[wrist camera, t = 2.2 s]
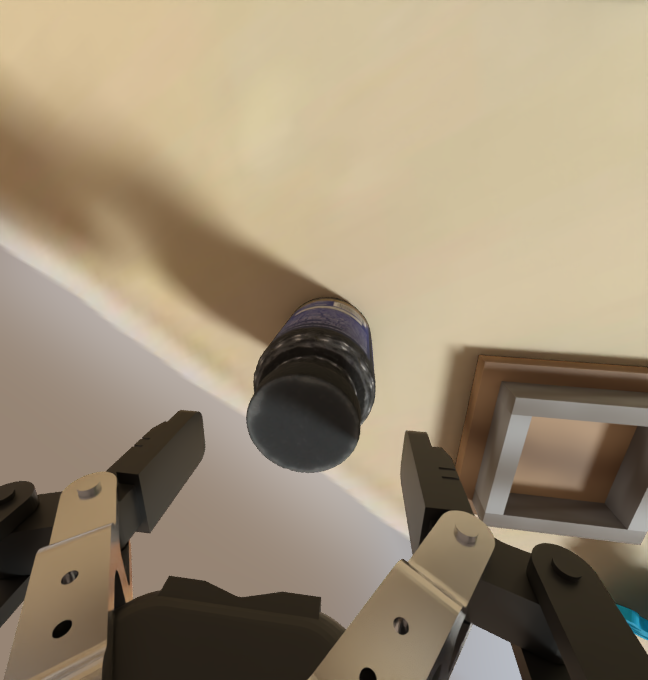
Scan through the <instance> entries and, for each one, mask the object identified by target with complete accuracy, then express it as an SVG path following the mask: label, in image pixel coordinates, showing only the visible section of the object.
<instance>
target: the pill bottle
mask: <svg viewBox="0 0 648 680" xmlns="http://www.w3.org/2000/svg"><path fill="white" fill-rule="evenodd" d="M253 383H254V395H253V397H252V398H251V400H250V403H249V406H248V409H247V417H246V420H247V428H248V432H249V435H250V437H251V439H252V441H253V443H254V444H255V445H256V447H257V449H258V450H259V451H260V452H261V453H262V454H263V455H264V456H265V457H266V458H267V459H269V460H270V461H272V462H273V463H275V464H277V465H278V466H281V467H283V468H287V469H290V470H292V471H296V472H306V473H314V472H321V471H325V470H328V469H331V468H333V467H335V466H337V465H339V464H341V463H342V462H343V461H345V460H346V459H347V458H348V457H349V456H350V454H351V453H352V452H353V451H354V449H355V447H356V445H357V442H358V440H359V436H360V426H361V424H363V422H364V421H365V420H366V418H367V417H368V415H369V413H370V411H371V408H372V406H373V403H374V398H375V387H376V386H375V374H374V363H373V350H372V340H371V332H370V328H369V325H368V323H367V321H366V319H365V317H364V316H363V315H362V313H361V312H360V311H358V309H357V308H356V307H354V306H353V305H351V304H349V303H347V302H345V301H343V300H341V299H338V298H318V299H314V300H311V301H309V302H307V303H305V304H303V305H302V306H301V307H299V308H298V309H297V310H296V311H295V312H294V314H293V315H292V316H291V318H290V319H289V320H288V321H287V323H286V324H285V325H284V327H283V328H282V329H281V331H280V332H279V333H278V334H277V336H276V337H275V338H274V340H273V341H272V342H271V344H270V345H269V346H268V347H267V349H266V350H265V351H264V352H263V354H262V356H261V357H260V359H259V361H258V364H257V367H256V371H255V373H254V381H253Z"/></svg>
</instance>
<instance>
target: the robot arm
mask: <svg viewBox="0 0 648 680" xmlns="http://www.w3.org/2000/svg"><path fill="white" fill-rule="evenodd" d="M204 452H205V439H204V429H203V419H202V415H201V413H200V412H197V411H186V410H180V411H178V412H177V413H176V414H175V415H174V416H173V417H172V418H171V419H170V420H169V421H168V422H163V423H161V424H159V425H158V426H156V427H154V428H152V429H151V430H150V431H149V432H148V433H147V434H146V435H144V436H143V437H142V439H140V440H139V441H138V442H137V443H136V444H135V446H134V447H131V449H129V450H128V451H127V452H126V453H125V454H124V455H123V456H122V457H121V458H120V459H119V460H118V461H116V462H115V463H114V464H113V465H112V466H111V467H110V468H109V469H108V470H107V471H106V472H96V473H92V474H88V475H86V476H83V477H81V478H79V479H77V480H76V481H74V482H72V483H71V484H70V485H69V486H67V487H66V488H65V490H64V491H62V492H55V493H47V494H40V495H37V493H36V490H35V487H34V485H33V484H32V483H30V482H27V481H19V482H13V483H9V484H5V485H3V486H0V627H1V626H2V625H3V624H4V623H5V622H6V620H7V619H8V618H9V617H10V616H11V614H12V613H13V612H14V611H15V610H16V609H17V607H18V606H19V605H20V604H21V603H22V602H23V601H24V603H23V607H22V611H21V614H20V618H19V622H18V626H17V630H16V633H15V638H14V641H13V645H12V649H11V653H10V657H9V661H8V664H7V668H6V672H5V676H4V680H449V677H450V675H451V673H452V671H453V668H454V666H455V664H456V662H457V659H458V657H459V655H460V652H461V650H462V648H463V646H464V643H465V641H466V639H467V636H468V634H469V632H470V630H471V627H472V625H473V624H474V625H476V626H478V627H480V628H482V629H484V630H486V631H488V632H490V633H493V634H494V635H496V636H499V637H500V638H502V639H505V640H506V641H509V642H510V643H511V646H512V649H513V652H514V655H515V658H516V661H517V665H518V668H519V671H520V674H521V677H522V680H648V654H647V653H646V651H645V650H644V648H643V647H642V645H641V643H640V642H639V640H638V639H637V637H636V636H635V634H634V632H633V631H632V629H631V628H630V626H629V624H628V623H627V621H626V620H625V618H624V617H623V615H622V613H621V612H620V610H619V609H618V607H617V606H616V604H615V602H614V601H613V599H612V598H611V596H610V594H609V593H608V591H607V590H606V588H605V587H604V585H603V583H602V582H601V580H600V579H599V577H598V576H597V574H596V573H595V571H594V570H593V569H592V568H591V567H590V566H589V565H588V564H587V563H586V562H585V561H584V560H583V559H582V558H580V557H579V556H578V555H576V554H575V553H573V552H571V551H569V550H568V549H565V548H563V547H561V546H558V545H554V544H549V543H542V544H538V545H536V546H535V547H534V548H533V550H532V553H528V552H526V551H523V550H520V549H518V548H515V547H513V546H510V545H507V544H505V543H503V542H501V541H499V540H497V539H496V538H494V536H493V534H492V532H491V530H490V529H489V528H488V526H487V525H486V524H485V523H484V522H482V521H481V520H480V519H479V518H477V517H475V515H474V513H473V511H472V508H471V506H470V503H469V501H468V498H467V496H466V493H465V491H464V488H463V486H462V483H461V481H460V480H459V476H458V473H457V471H456V468H455V466H454V463H453V461H452V458H451V457H450V456H449V455H448V454H447V453H446V452H445V451H444V450H443V449H442V448H439V447H432V446H431V443H430V440H429V437H428V434H427V433H426V432H417V431H406V432H405V437H404V444H403V452H402V460H401V471H400V475H401V486H402V492H403V498H404V504H405V510H406V517H407V523H408V529H409V535H410V541H411V548H412V554H413V556H412V557H411V559H410V560H409V561H408V562H407V561H405V560H404V559H401V560H400V561H398V563H397V564H396V565H395V566H394V567H393V569H392V570H391V571H390V572H389V574H388V575H387V576H386V578H385V579H384V580H383V582H382V583H381V584H380V586H379V587H378V588H377V590H376V591H375V592H374V594H373V595H372V596H371V598H370V599H369V600H368V601H367V603H366V604H365V605H364V607H363V608H362V609H361V611H360V612H359V613H358V615H357V616H356V617H355V619H354V620H353V621H352V623H351V624H350V625H349V627H348V628H347V629H345V628H344V627H342V626H341V625H340V624H339V623H338V622H337V621H335V620H334V619H332V618H331V617H329V616H327V615H325V614H323V613H321V597H316V596H308V595H302V594H295V593H287V592H278V593H270V594H264V595H256V596H249V597H237V596H235V595H233V594H231V593H229V592H227V591H225V590H223V589H220V588H218V587H217V586H214V585H212V584H210V583H208V582H206V581H202V580H195V579H188V578H181V577H174V576H169V577H168V579H167V581H166V582H165V584H164V586H163V588H162V589H161V590H160V591H155V592H151V593H148V594H145V595H143V596H140V597H137V598H135V599H133V589H132V555H131V542H130V538H131V537H132V535H133V534H134V533H135V532H144V533H151V531H152V530H153V528H154V527H155V526H156V524H157V523H158V521H159V520H160V518H161V517H162V515H163V514H164V513H165V511H166V510H167V508H168V507H169V505H170V504H171V503H172V501H173V500H174V498H175V497H176V496H177V494H178V493H179V491H180V490H181V489H182V487H183V486H184V484H185V483H186V482H187V480H188V479H189V477H190V476H191V474H192V473H193V472H194V470H195V469H196V467H197V466H198V464H199V463H200V462H201V460H202V458H203V455H204Z"/></svg>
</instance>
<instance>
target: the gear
mask: <svg viewBox="0 0 648 680" xmlns="http://www.w3.org/2000/svg"><path fill="white" fill-rule="evenodd" d="M616 606H617V607H618V609H619V610H620V612H621V613H622V615H623V617H624V618H625V620H626V621H627V623H628V624H629V626H630V628H631V629H632V631H633V632H634V634H636V635H638V636H639V637H641V638H644V639H646V640H648V620H646V619H644V618H642V617H640V616H639V614H638V613H637V612H635V611H633V610H631V609H628V608H626V607H623V606H621V605H618V604H616Z"/></svg>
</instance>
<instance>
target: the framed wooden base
mask: <svg viewBox="0 0 648 680" xmlns="http://www.w3.org/2000/svg"><path fill="white" fill-rule="evenodd" d="M455 468H456V471H457V473H458V476H459V480H460V481H461V483H462V486H463V488H464V491H465V493H466V496H467V498H468V501H469V503H470V506H471V508H472V511H473V513H474V514H477V515H478V517H479V519H480V520H481V521H482V522H484V523H485V524H486V525H487V526H490V527H498V528H506V529H514V530H523V531H531V532H539V533H547V534H555V535H563V536H571V537H580V538H588V539H596V540H604V541H612V542H620V543H628V544H636V545H641V543H642V541H643V539H644V537H645V535H646V533H647V531H648V367H639V366H625V365H611V364H597V363H583V362H570V361H556V360H542V359H528V358H514V357H500V356H486V355H479V357H478V362H477V366H476V371H475V376H474V381H473V385H472V390H471V395H470V399H469V404H468V409H467V413H466V418H465V423H464V428H463V432H462V437H461V442H460V446H459V451H458V456H457V460H456V465H455Z"/></svg>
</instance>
